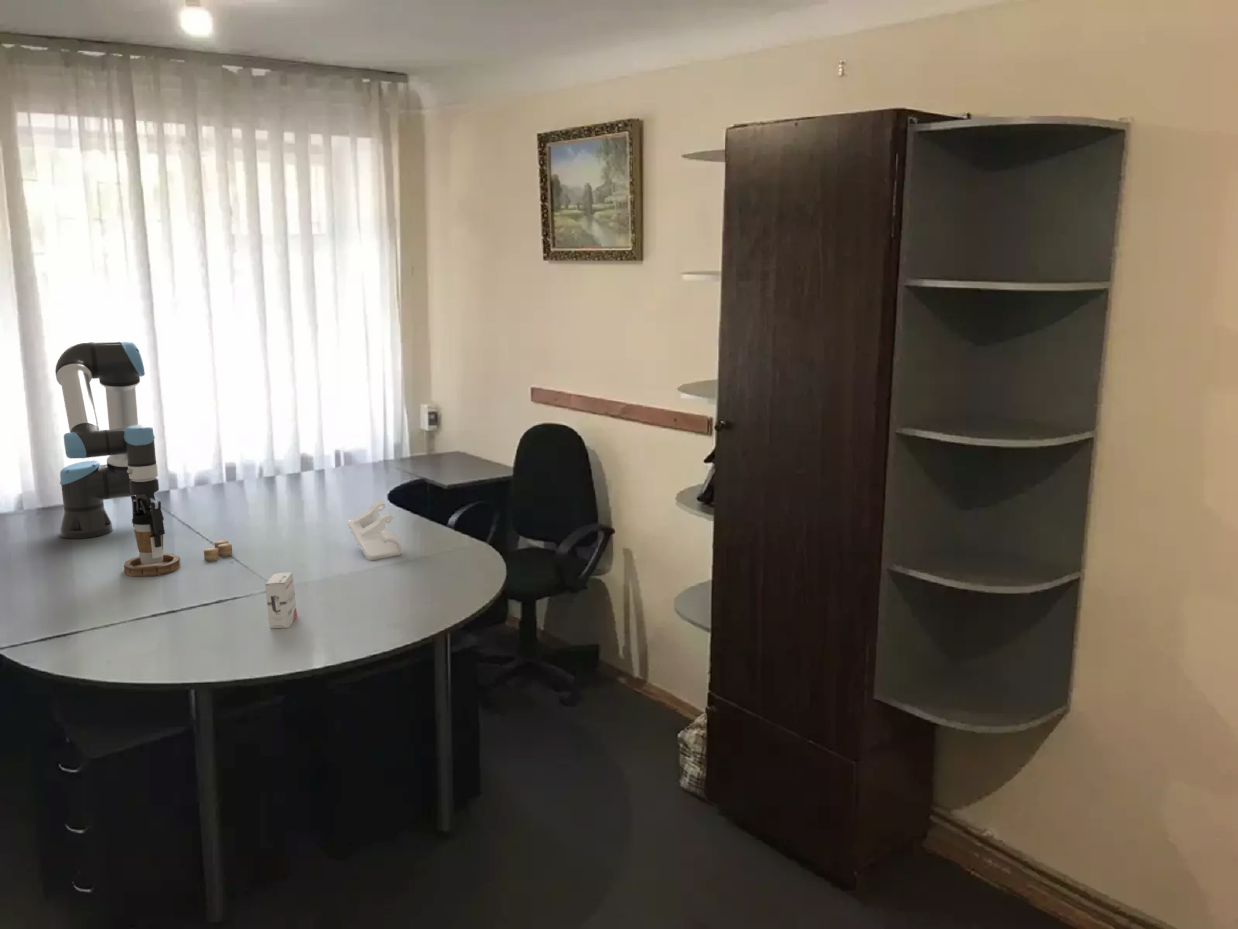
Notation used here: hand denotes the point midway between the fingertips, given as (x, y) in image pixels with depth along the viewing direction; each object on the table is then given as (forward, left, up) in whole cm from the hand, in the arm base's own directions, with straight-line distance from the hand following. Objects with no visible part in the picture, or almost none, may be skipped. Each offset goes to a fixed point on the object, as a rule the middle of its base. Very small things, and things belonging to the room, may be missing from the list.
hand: (151, 554), depth 282 cm
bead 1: (+4, +16, -5) cm, 17 cm away
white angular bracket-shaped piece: (+35, +53, -5) cm, 64 cm away
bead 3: (+3, +21, -5) cm, 22 cm away
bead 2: (-1, +22, -5) cm, 22 cm away
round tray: (0, 0, -4) cm, 4 cm away
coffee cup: (0, 0, -2) cm, 2 cm away
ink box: (+67, +2, -5) cm, 67 cm away
